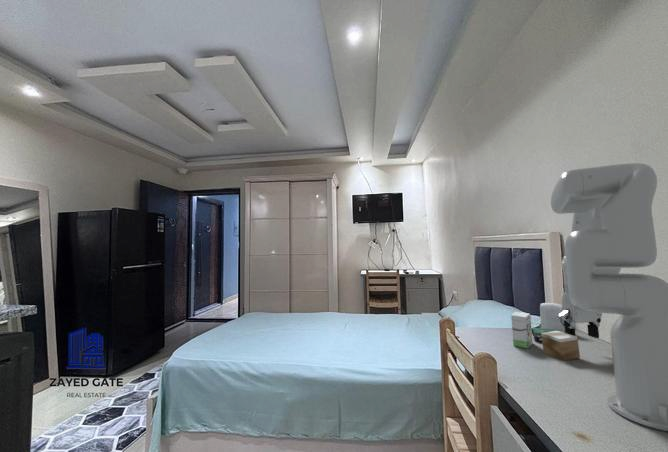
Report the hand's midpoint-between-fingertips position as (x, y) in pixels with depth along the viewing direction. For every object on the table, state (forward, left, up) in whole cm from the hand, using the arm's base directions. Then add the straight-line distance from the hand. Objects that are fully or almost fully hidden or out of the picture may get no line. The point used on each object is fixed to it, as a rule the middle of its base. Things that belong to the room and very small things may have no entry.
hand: (582, 338), depth 97 cm
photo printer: (+24, -15, -6) cm, 29 cm away
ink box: (+12, +13, -6) cm, 19 cm away
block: (0, +9, -5) cm, 11 cm away
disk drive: (+16, -2, -6) cm, 17 cm away
